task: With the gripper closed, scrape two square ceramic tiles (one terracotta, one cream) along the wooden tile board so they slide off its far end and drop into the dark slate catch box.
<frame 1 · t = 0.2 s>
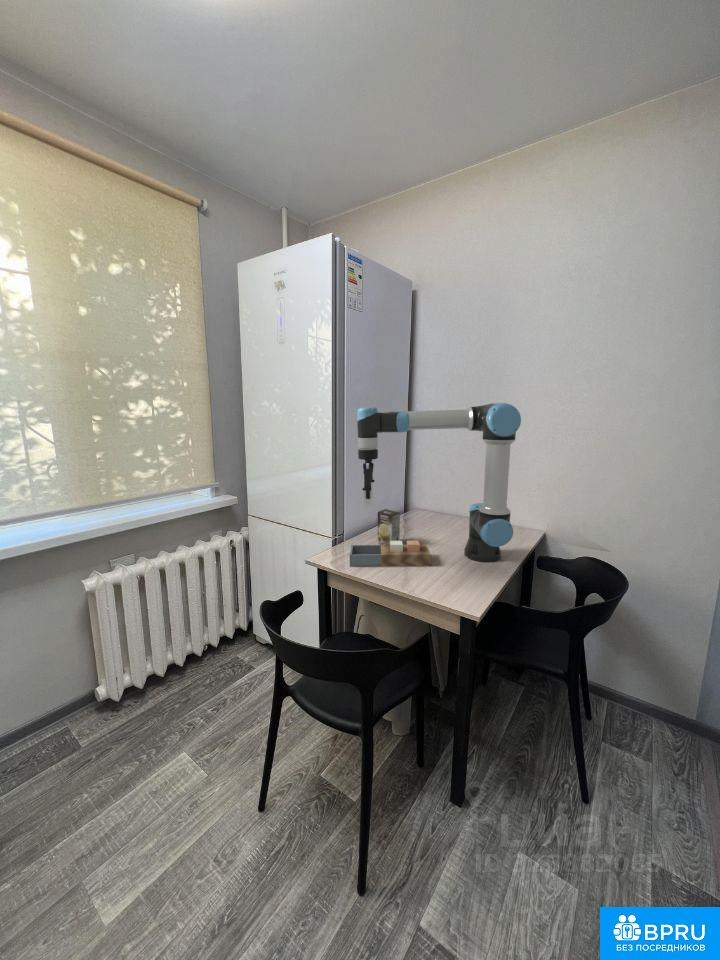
hand: (369, 502, 151), 28 cm above the table, fingers open, 13 cm apart
wooden tile board: (404, 560, 163), on the table
catch box: (365, 560, 164), on the table
tile cream: (396, 549, 163), point 5 cm above the table, touching wooden tile board
coffee box: (388, 544, 183), on the table
tile terracotta: (413, 549, 162), point 5 cm above the table, touching wooden tile board
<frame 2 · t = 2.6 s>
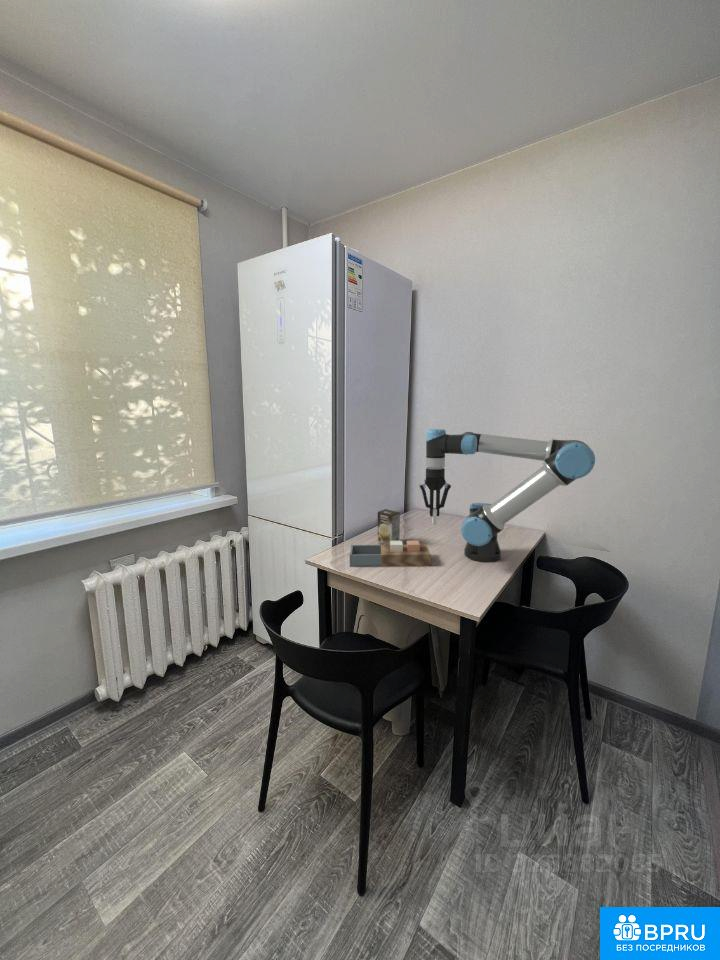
hand: (434, 523, 160), 16 cm above the table, fingers closed
nothing on the table moved.
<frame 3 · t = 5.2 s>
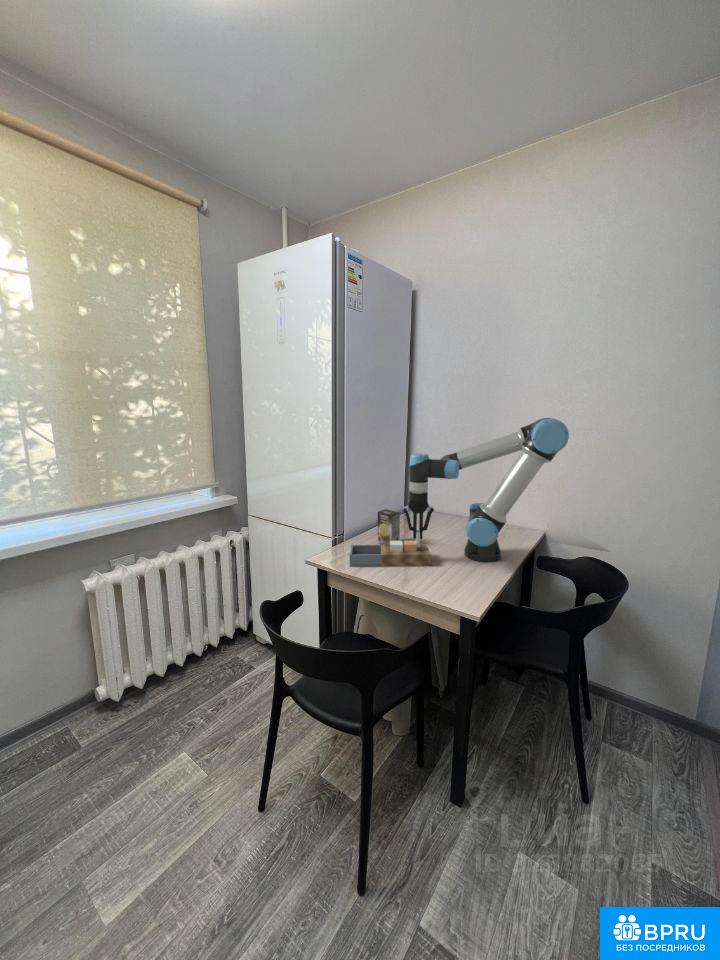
hand: (417, 545, 162), 6 cm above the table, fingers closed
tile terracotta: (409, 549, 162), point 5 cm above the table, touching wooden tile board
everything else where it was.
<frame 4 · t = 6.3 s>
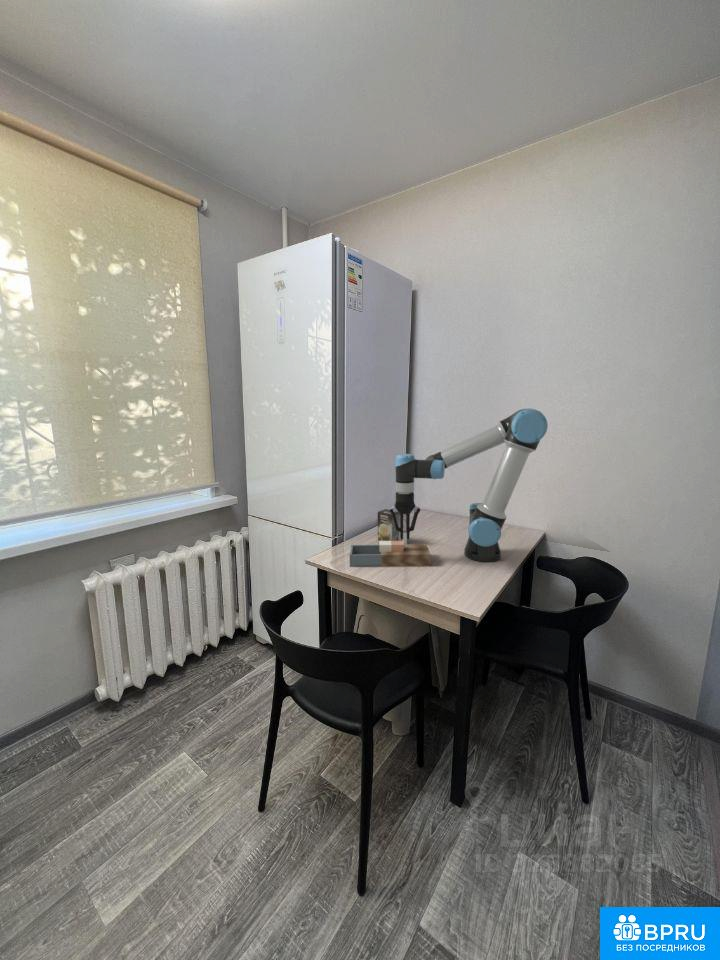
hand: (404, 546, 162), 6 cm above the table, fingers closed
tile cream: (385, 549, 163), point 5 cm above the table, touching wooden tile board, tile terracotta
tile terracotta: (397, 549, 163), point 5 cm above the table, touching wooden tile board, gripper, tile cream
everything else where it was.
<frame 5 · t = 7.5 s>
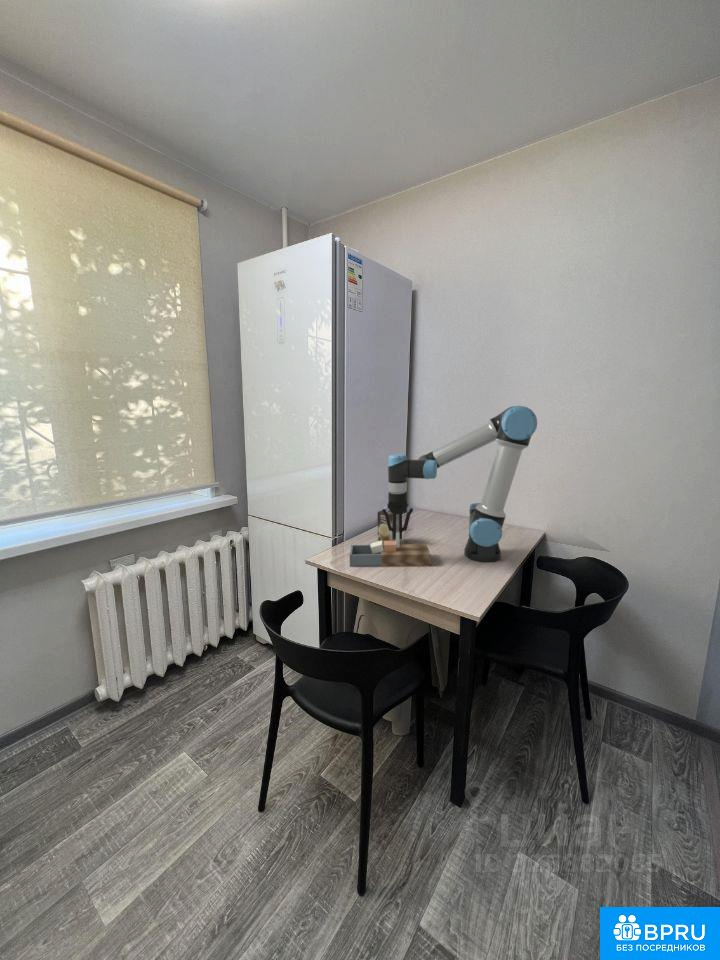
hand: (397, 546, 162), 6 cm above the table, fingers closed
tile cream: (378, 550, 163), point 5 cm above the table, tilted 16°, touching tile terracotta
tile terracotta: (389, 549, 163), point 5 cm above the table, touching gripper, tile cream
everything else where it was.
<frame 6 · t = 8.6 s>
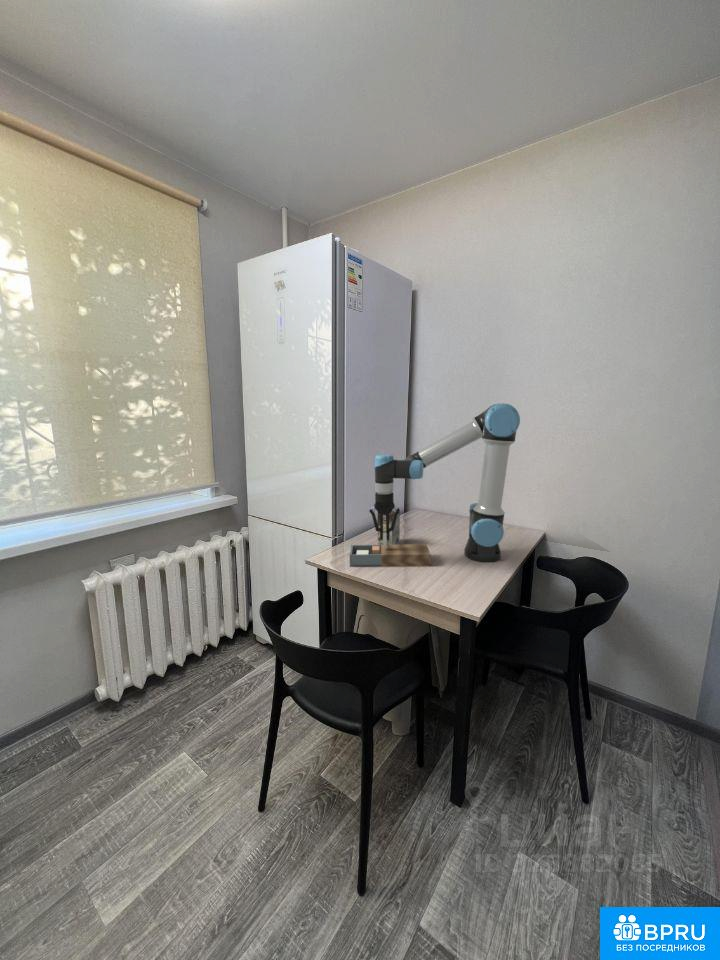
hand: (384, 546, 163), 6 cm above the table, fingers closed
tile cream: (362, 552, 164), point 4 cm above the table, tilted 180°, touching catch box
tile terracotta: (379, 553, 163), point 3 cm above the table, tilted 90°, touching catch box
everything else where it was.
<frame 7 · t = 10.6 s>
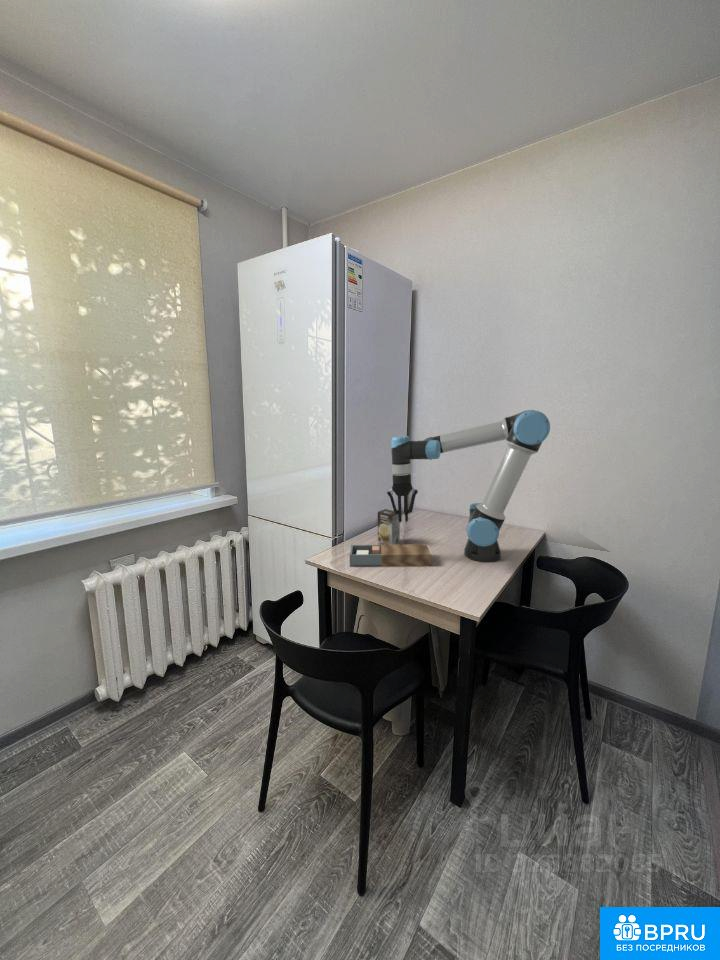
hand: (403, 528, 162), 14 cm above the table, fingers closed
nothing on the table moved.
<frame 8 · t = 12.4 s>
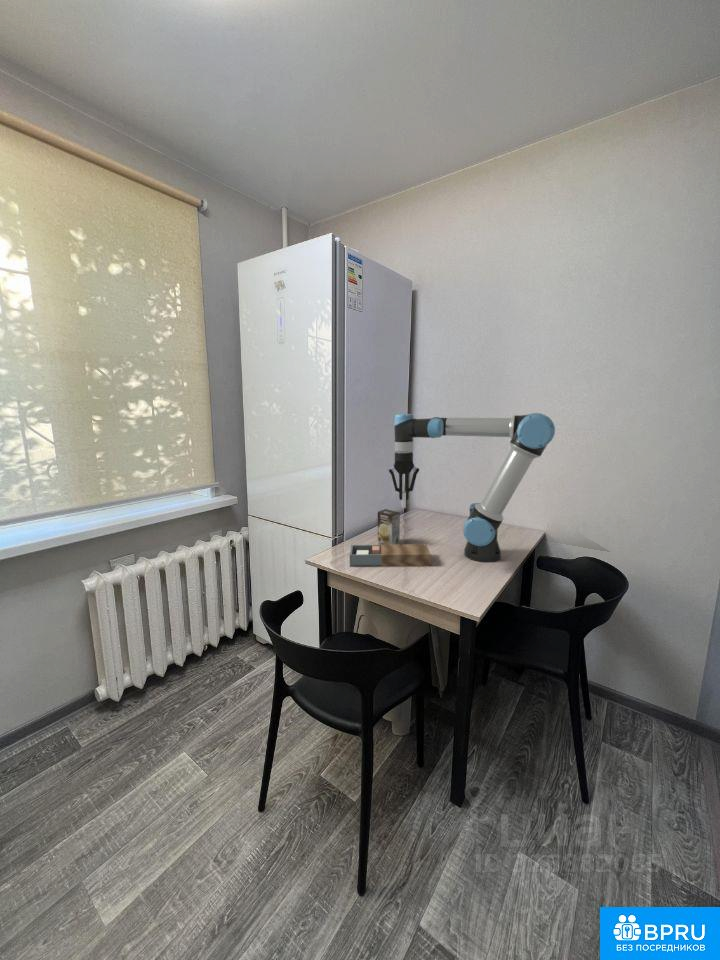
hand: (403, 507, 163), 22 cm above the table, fingers closed
nothing on the table moved.
at the end: tile terracotta inside the target area (6.5 cm from its centre), point 3.3 cm above the table; tile cream inside the target area (0.7 cm from its centre), point 3.8 cm above the table; tile terracotta touching catch box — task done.
